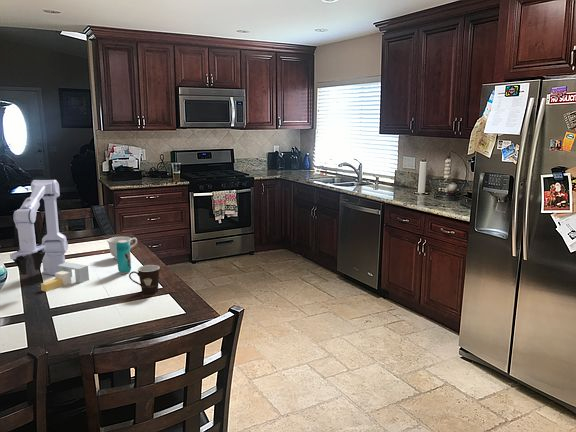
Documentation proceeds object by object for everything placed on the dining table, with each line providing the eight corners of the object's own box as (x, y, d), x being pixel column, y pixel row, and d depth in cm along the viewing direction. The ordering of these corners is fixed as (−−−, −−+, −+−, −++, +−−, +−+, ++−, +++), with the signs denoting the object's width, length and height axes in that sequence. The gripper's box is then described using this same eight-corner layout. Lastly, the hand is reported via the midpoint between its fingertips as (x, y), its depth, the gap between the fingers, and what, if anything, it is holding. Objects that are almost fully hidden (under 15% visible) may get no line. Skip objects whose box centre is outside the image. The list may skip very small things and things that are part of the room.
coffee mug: (164, 289, 198) (163, 266, 196) (152, 296, 190) (151, 272, 188) (141, 285, 202) (140, 263, 199) (128, 292, 194) (127, 269, 192)
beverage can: (127, 274, 215) (125, 243, 212) (115, 273, 217) (113, 242, 213) (133, 270, 221) (131, 239, 218) (122, 269, 222) (120, 239, 219)
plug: (40, 290, 195) (38, 278, 194) (63, 281, 206) (62, 270, 205) (48, 292, 194) (46, 280, 193) (71, 282, 204) (70, 271, 203)
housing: (58, 279, 209) (57, 265, 207) (68, 275, 213) (66, 262, 212) (80, 283, 204) (78, 268, 203) (89, 279, 208) (87, 265, 207)
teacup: (141, 258, 240) (140, 239, 238) (111, 263, 232) (110, 243, 230) (134, 252, 250) (133, 234, 248) (105, 257, 242) (104, 238, 240)
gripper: (17, 244, 177) (21, 278, 180) (50, 235, 190) (53, 267, 193) (4, 242, 180) (8, 276, 183) (37, 234, 193) (41, 265, 196)
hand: (30, 271), depth 188 cm, fingers open, 6 cm apart
